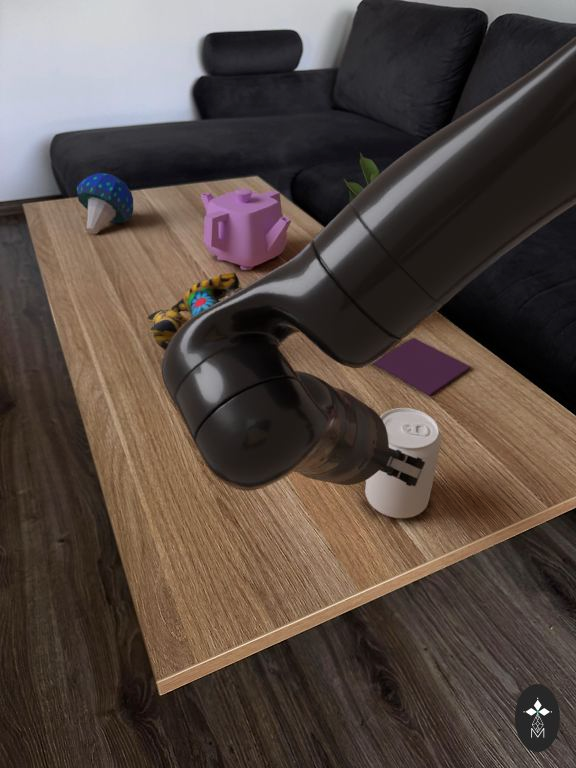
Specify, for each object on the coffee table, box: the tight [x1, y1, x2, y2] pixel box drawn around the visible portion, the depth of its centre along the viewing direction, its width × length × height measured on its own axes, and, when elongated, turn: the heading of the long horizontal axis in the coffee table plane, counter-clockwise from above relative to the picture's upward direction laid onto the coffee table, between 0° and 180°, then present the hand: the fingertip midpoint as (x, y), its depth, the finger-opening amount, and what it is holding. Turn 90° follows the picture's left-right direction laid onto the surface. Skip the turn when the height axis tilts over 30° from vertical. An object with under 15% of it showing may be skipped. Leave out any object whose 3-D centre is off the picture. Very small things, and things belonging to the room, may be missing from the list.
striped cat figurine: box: [146, 271, 244, 353], centre depth 103 cm, size 20×12×18 cm
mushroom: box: [76, 172, 134, 235], centre depth 144 cm, size 14×14×15 cm
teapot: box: [200, 188, 292, 271], centre depth 129 cm, size 19×18×15 cm
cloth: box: [372, 337, 471, 397], centre depth 99 cm, size 12×11×1 cm
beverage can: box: [364, 407, 442, 519], centre depth 73 cm, size 8×8×12 cm
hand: (382, 457), depth 64 cm, fingers closed
